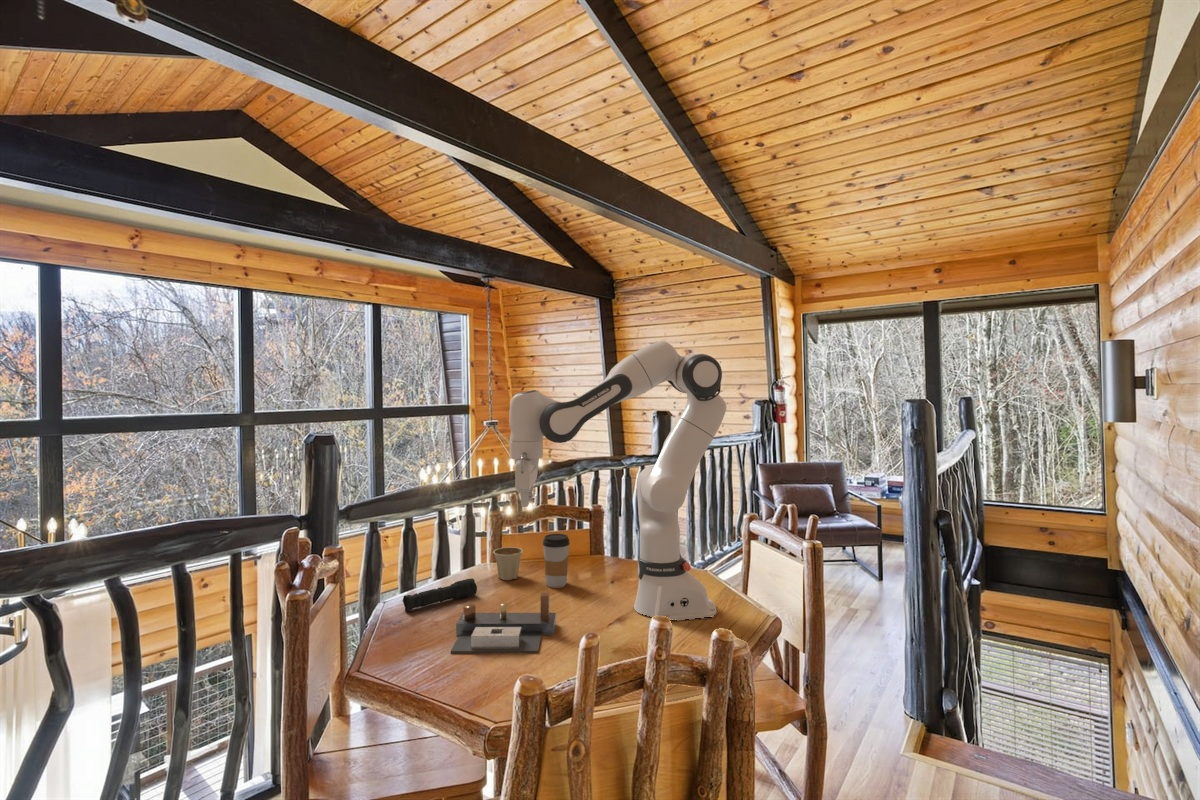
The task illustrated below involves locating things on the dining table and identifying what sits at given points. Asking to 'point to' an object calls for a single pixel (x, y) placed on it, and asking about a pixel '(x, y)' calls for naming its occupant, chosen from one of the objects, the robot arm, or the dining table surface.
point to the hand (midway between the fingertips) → (527, 502)
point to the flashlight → (441, 594)
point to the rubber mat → (526, 646)
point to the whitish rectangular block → (496, 638)
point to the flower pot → (508, 562)
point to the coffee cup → (556, 559)
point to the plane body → (509, 620)
